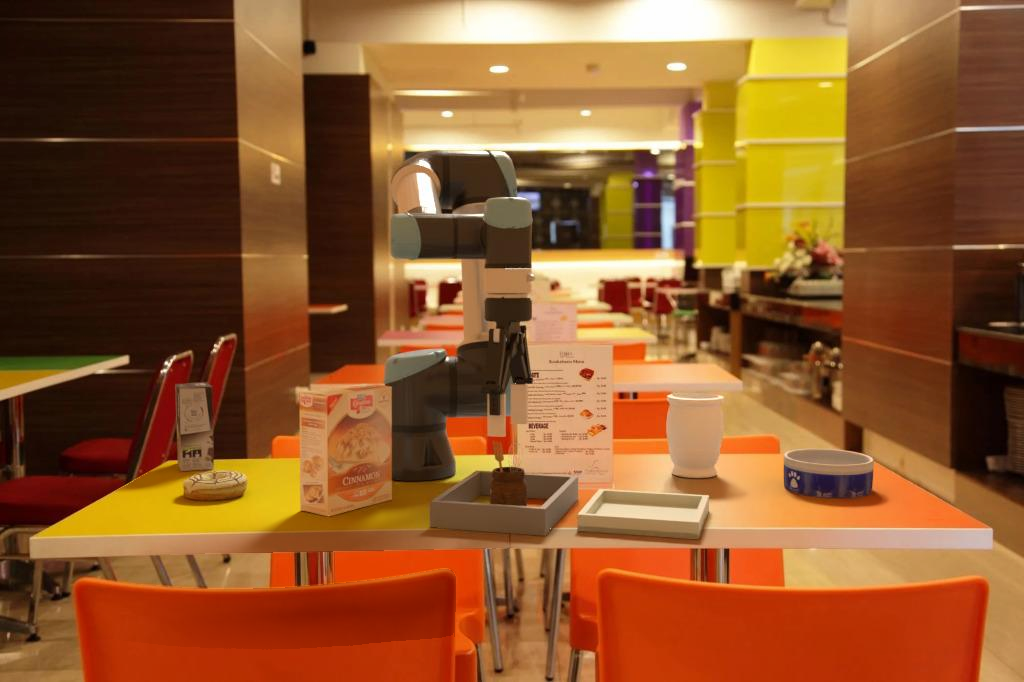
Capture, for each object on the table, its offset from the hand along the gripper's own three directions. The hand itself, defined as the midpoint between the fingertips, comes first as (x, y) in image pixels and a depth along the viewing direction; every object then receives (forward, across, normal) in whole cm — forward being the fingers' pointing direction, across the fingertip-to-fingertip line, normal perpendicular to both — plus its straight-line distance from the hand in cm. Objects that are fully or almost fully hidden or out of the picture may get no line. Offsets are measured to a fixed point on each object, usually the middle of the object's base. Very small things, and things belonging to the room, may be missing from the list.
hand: (508, 430), depth 167 cm
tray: (+14, +2, -22) cm, 26 cm away
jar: (+13, +38, -26) cm, 48 cm away
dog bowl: (+14, +32, -50) cm, 61 cm away
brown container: (+14, 0, 0) cm, 14 cm away
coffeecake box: (+14, -2, +27) cm, 30 cm away
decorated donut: (+14, 0, +52) cm, 54 cm away
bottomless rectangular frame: (+14, 0, 0) cm, 14 cm away
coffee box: (+13, +20, +69) cm, 73 cm away
